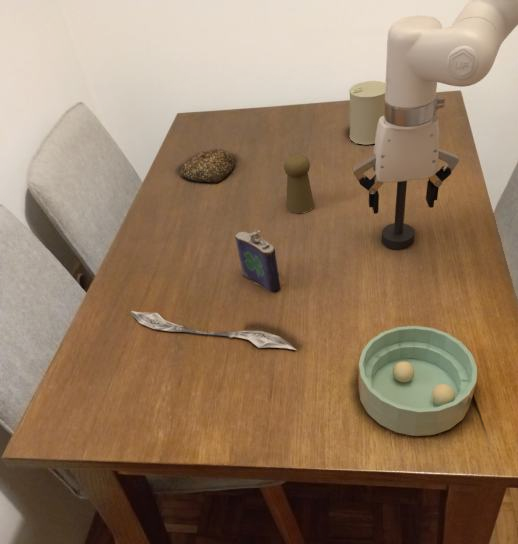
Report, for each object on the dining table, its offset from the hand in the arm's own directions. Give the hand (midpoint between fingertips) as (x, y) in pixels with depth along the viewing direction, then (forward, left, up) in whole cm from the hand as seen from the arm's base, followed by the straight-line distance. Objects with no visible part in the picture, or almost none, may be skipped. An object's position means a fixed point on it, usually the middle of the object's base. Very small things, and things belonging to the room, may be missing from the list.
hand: (402, 206), depth 94 cm
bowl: (+4, +36, -8) cm, 37 cm away
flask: (+26, +8, -8) cm, 28 cm away
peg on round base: (0, 0, -8) cm, 8 cm away
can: (0, -44, -8) cm, 45 cm away
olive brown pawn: (+18, -16, -8) cm, 26 cm away
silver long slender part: (+35, +20, -8) cm, 41 cm away
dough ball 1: (+5, +34, -6) cm, 34 cm away
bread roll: (+39, -36, -8) cm, 54 cm away
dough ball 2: (+1, +38, -6) cm, 39 cm away
